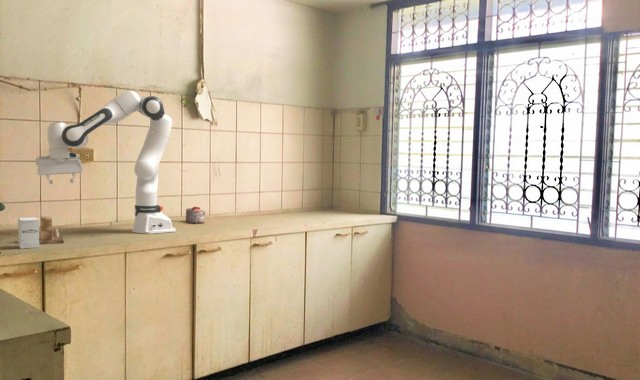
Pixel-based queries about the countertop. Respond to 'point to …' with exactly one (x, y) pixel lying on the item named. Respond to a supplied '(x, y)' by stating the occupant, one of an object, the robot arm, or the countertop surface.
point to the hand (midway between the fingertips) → (61, 183)
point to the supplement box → (28, 233)
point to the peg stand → (53, 239)
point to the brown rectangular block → (46, 228)
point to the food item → (195, 215)
